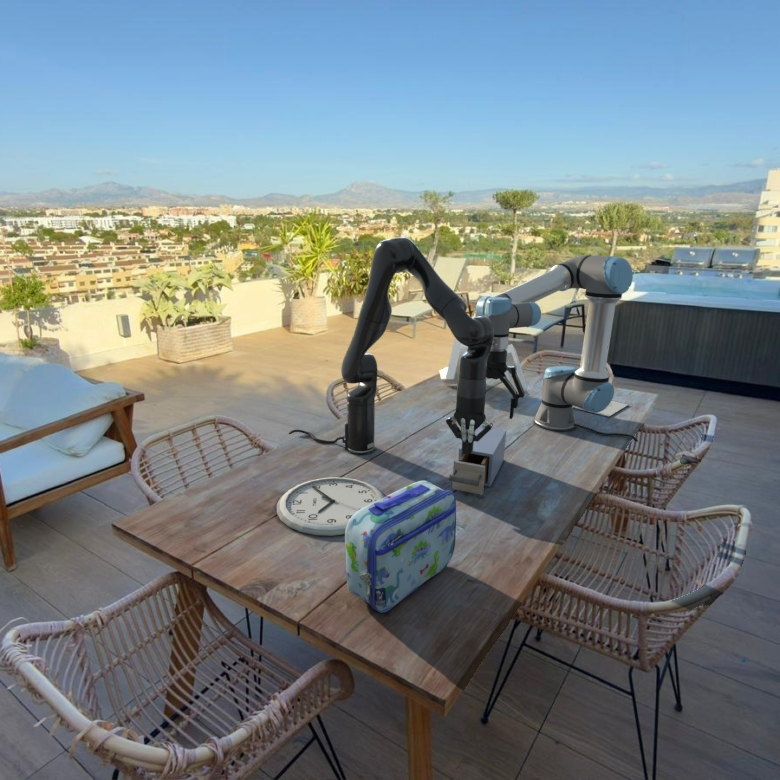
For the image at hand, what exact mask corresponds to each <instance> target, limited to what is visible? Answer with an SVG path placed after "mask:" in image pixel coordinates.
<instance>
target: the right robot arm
mask: <svg viewBox="0 0 780 780" xmlns="http://www.w3.org/2000/svg"><path fill="white" fill-rule="evenodd" d="M633 277H634V274H633V269H632V265H631V264H630V262H629V261H628V260H627V259H626V258H624V257H618V256H614V255H593V254H584V255H583V254H582V255H578V256H574V257H572V258H569V259H567V260H564V261H561V262H559V263H558V264H555V265H554V266H552V267H551V268H550V270H549V271H547V272H545V273H543V274H540V275H538V276H536V277H534V278H532V279H530V280H527V281H525V282H523V283H521V284H519V285H517V286H514V287H511V288H510V289H508V290H505V291H504V292H502V293H500V294H497V295H495V296H491V295H490V296H482V297H481V298H479V299H478V300H477V303H476V306H475V312H476V314H477V317H478V316H485V317H487V318H489V319H490V320H491V322H492V324H493V327H494V339H493V343H492V347H491V350H490V354H489V357H488V360H487V370H486V379H492V380H500V382H501V383H503V385H504V387H505V388H506V389H507V390H508V392H509V393H510V395H511V396H512V397H511V398H510V407H509V418H508V419H509V420H513V417H514V413H515V409H517V408H518V406H519V399H523V398H524V397H525V396H526V394H525V392H524V390H523V387H522V385H521V382H520V379H519V376H518V373H517V367H516V366H515V365H512V366H508V367H507V365H508V364H507V365H506V360H507V350H505V349H507V348H508V345H509V338H510V337H509V335H510V329H518V328H530V327H534V326H536V325H538V324H539V322H540V321H541V318H542V310H541V307H540V306H539V305H538V303H536V302H539V301H540V300H542V299H544V298H547V297H548V296H551V295H553V294H555V293H557V292H565V291H569V290H571V289H583V290H585V293H584V294H585V298H586V299H587V300H588V307H587V315H586V321H585V328H584V335H583V343H582V350H581V355H580V356H581V358H580V363H579V368H577V367H574V366H569V365H568V366H567V365H557V366H550V367H547V368H546V369H545V371H544V375H543V378H542V379H543V381H542V392H541V402H540V405H539V407H538V410H537V411H536V413H535V417H534V424H535V425H536V426H537V427H539V428H542V429H544V430H549V431H556V432H567V431H572V430H574V429H575V428H580V429H583V430H586V431H588V432H592V433H595V434H597V435H601V436H606V437H607V436H609V437H610V436H618V437H627V438H630V439H632V440H633V441H635V442H639V440H638V439H637V437H635V436H634V435H632V434H629V433H622V432H621V433H620V432H602V431H599V430H596V429H593V428H590V427H587V426H584V425H582V424H578V423H576V418H575V417H576V416H575V413H574V407H579V408H581V409H584V410H586V411H585V412H588V411H591V412H590V413H592V412H595V413H594V414H596V413H597V412H601V411H603V410H604V409H605V408H606V407H607V406H608V405H609V404H610V402H611V401H613V398H614V396H615V387H614V385H613V384H612V383H611V382H609V380H610V374H609V373H608V371H607V370H606V369H607V363H608V357H609V351H610V344H611V337H612V330H613V324H614V317H615V310H616V304H617V303H618V302H619V301H620V300H621V299H622V298H623V294H626V293H627V292H628V291H629V290H630V287H631V286H632V283H633ZM507 370H508V371H509V373H510V375H511V378H512V381H513V385H514V387H513V385H512V384H511V383H510V381H509V380H508V379H507V376H506V375H505V372H506V371H507ZM573 406H574V407H573ZM584 410H583V411H584Z"/></svg>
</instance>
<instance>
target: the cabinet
mask: <svg viewBox="0 0 780 780" xmlns="http://www.w3.org/2000/svg"><path fill="white" fill-rule="evenodd" d="M482 427H483V426H480V427H479V428H478V429H476V432H475V435H478V434H479V433H480V432H481V431H482V430H483V428H482ZM506 439H507V430H506V429H505V430H504V429H498V428H493V427H492V428H491V430H490V431H489V432H487V433H486V434H485V435H484V436H483V437H482V438H481V439H480V440H479V441H478V442H476V441H474V444H473V451H472V452H471V454H476V455H482V456H488V457H489V469H488V478H487V480H486V482H485V484H484V487H489V488H490V487H491V486H492V484H493V482H494V481H495V478H496V476H497V474H498V472H499V471H500V468H501V466H502V464H503V462H504V461H505V452H506V451H505V449H506ZM463 454H464V452H462V444H461V445H460V447H459V448H458V459H457V461H459V459H460V458H461V456H462V455H463Z"/></svg>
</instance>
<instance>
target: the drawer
mask: <svg viewBox="0 0 780 780" xmlns="http://www.w3.org/2000/svg"><path fill="white" fill-rule="evenodd" d="M458 459H459V458H458ZM452 468H453V470H452V474H449V476H448V481H449V482H452V483H451V485H452V486H451V489H452V490H455V491H456V490H457V491H460V492H466V493H471V494H476V495H481V496H483V495H484V489H485V486H484V484H485V482H486V480H487V478H488V469H489V457H488V456H482V455H476V454H471V453H470V454H469V455H467V454H463V455H462V456H461V458H460V459H459V461H458V460H454V461H453V467H452Z"/></svg>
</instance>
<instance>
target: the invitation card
mask: <svg viewBox="0 0 780 780" xmlns="http://www.w3.org/2000/svg"><path fill="white" fill-rule="evenodd" d="M628 406H629V404H627V403H623V402H618V401H614V400H612V401H611V402H610V404H609V405H608V406H607V407H606V408H605V409H604V410H603V411H601V412H597V413H595V412H591V411H586V410H584V409H581V408H579V407H576V406H574V407H573V409H575V410H581V411H584V412H587V413H593V414H596V415H600V416H604V417H608V418H609V417H611V416H613V415H614V414H616V413H617V412H619V411H621V410H623V409H624V408H626V407H628Z"/></svg>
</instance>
